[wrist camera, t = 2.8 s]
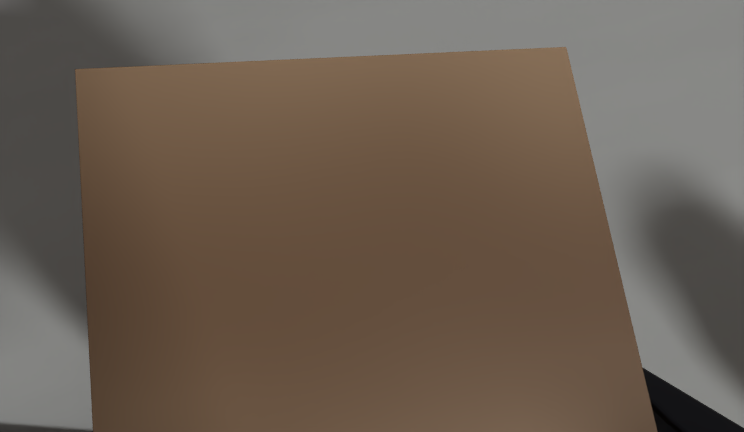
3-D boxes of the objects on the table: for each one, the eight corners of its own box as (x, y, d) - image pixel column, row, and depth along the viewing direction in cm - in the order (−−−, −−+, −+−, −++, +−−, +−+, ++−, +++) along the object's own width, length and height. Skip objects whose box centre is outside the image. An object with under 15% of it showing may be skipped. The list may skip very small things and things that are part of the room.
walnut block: (385, 421, 18) (682, 538, 6) (211, 452, 17) (105, 683, 5) (361, 255, 19) (566, 47, 7) (196, 274, 18) (74, 69, 6)
